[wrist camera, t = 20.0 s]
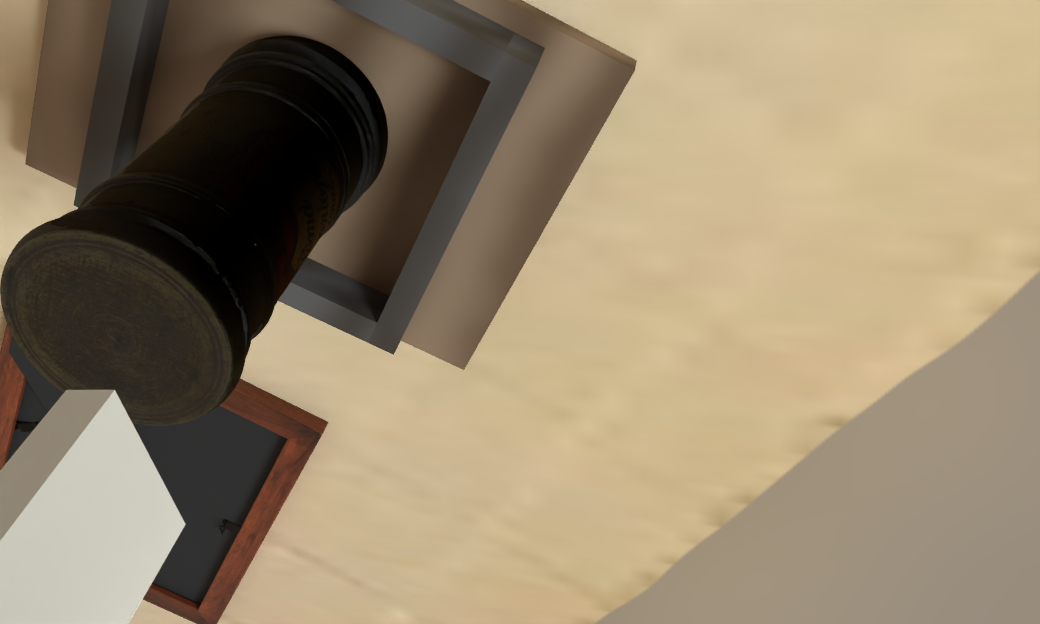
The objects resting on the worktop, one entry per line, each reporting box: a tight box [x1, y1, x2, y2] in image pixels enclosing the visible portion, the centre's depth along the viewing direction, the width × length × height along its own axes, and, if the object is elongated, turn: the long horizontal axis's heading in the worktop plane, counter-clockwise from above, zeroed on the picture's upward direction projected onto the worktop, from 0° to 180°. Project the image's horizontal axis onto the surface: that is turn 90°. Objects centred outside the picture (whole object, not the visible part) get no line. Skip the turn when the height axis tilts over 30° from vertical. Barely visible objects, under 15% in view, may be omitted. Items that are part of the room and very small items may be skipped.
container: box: [0, 36, 388, 426], centre depth 39 cm, size 9×9×18 cm
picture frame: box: [0, 324, 328, 624], centre depth 65 cm, size 20×2×25 cm
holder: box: [25, 0, 636, 370], centre depth 46 cm, size 26×20×4 cm
